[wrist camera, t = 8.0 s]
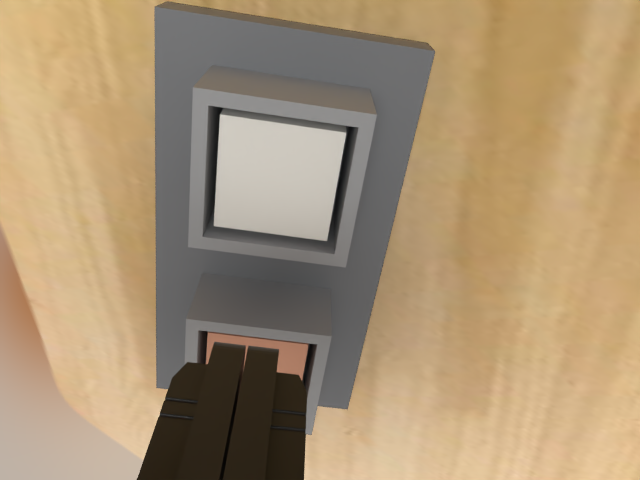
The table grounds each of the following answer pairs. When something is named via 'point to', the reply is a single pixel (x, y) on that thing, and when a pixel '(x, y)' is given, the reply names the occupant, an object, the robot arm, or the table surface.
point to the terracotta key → (289, 351)
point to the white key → (277, 174)
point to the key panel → (264, 248)
